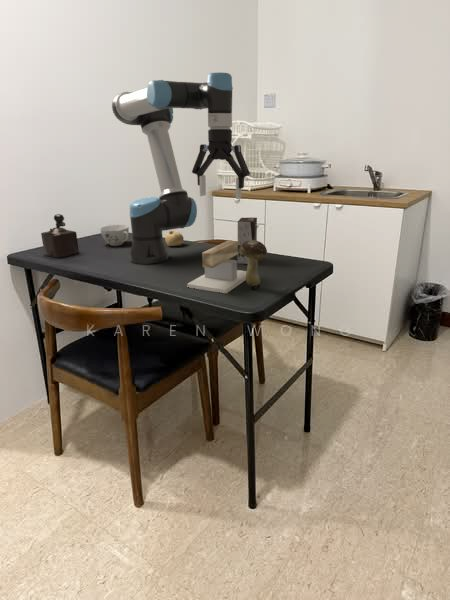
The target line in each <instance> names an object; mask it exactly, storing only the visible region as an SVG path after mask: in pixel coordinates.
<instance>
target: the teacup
mask: <svg viewBox="0 0 450 600" xmlns="http://www.w3.org/2000/svg"><path fill="white" fill-rule="evenodd" d="M99 230H100V234H101V236H102V239H104V241H105V242H106V243H108V244H109V246H111V247H117V246H118V247H119V246H121V245H123V244H124V243H125V242H126V241H128V240H129V237H130V236H129V231H130V230H129V225H127V224H110V225H105V226H102V227H101V228H99Z"/></svg>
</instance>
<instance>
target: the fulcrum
mask: <svg viewBox="0 0 450 600" xmlns="http://www.w3.org/2000/svg"><path fill="white" fill-rule="evenodd" d="M246 272H247V270H240V269H238V259H237V260H235V259H228V260H226V261H224V262H223V263H221V264H219V265H217V266H215V267H214V268H208V267H204V274H203V275H200V276H199V277H197V278H195V279H193V280H191V281H190V282H188V283H187V284H186V285H187V286H186V287H187V288H188V287H189V289H194V288H195V290H200V291H201V290H202V291H207V292H213V293H219V292H220V293H221V294H225V293H226V294H229V292H231V291H232V290H233V289H235V288H236V287H238V286H240V284H242V283H243V282H245V281H246Z"/></svg>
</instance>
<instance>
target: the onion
mask: <svg viewBox="0 0 450 600" xmlns="http://www.w3.org/2000/svg"><path fill="white" fill-rule="evenodd" d="M164 240H165V244H167V246H169V247H180V246H182V245H183V244H184V235H183V234H182V233H181V232H179V231H176V230H175V231H174V230H173V229H171V230H168V233H167V234H166V236H165V239H164Z"/></svg>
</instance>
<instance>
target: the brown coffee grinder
mask: <svg viewBox="0 0 450 600" xmlns="http://www.w3.org/2000/svg"><path fill="white" fill-rule="evenodd" d="M53 219H54V221H55V227H52V228H50V229H49V231H45V232H41V233H40V234H41V235H40V236H41V240H42V247H43V253H44V254H43V255H45V256H48V257H51V258H57V259H58V258H59V259H60V258H64V257H69V256H73V255H78V254H79V253H80V251H79V243H78V236H77V235H78V234H77V231H73V230H69V229H66V228H64V227H65V226H66V225H67V224H66V222H64V220H65V217H64V215H63V214H60V213H57V214H54V215H53Z"/></svg>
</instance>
